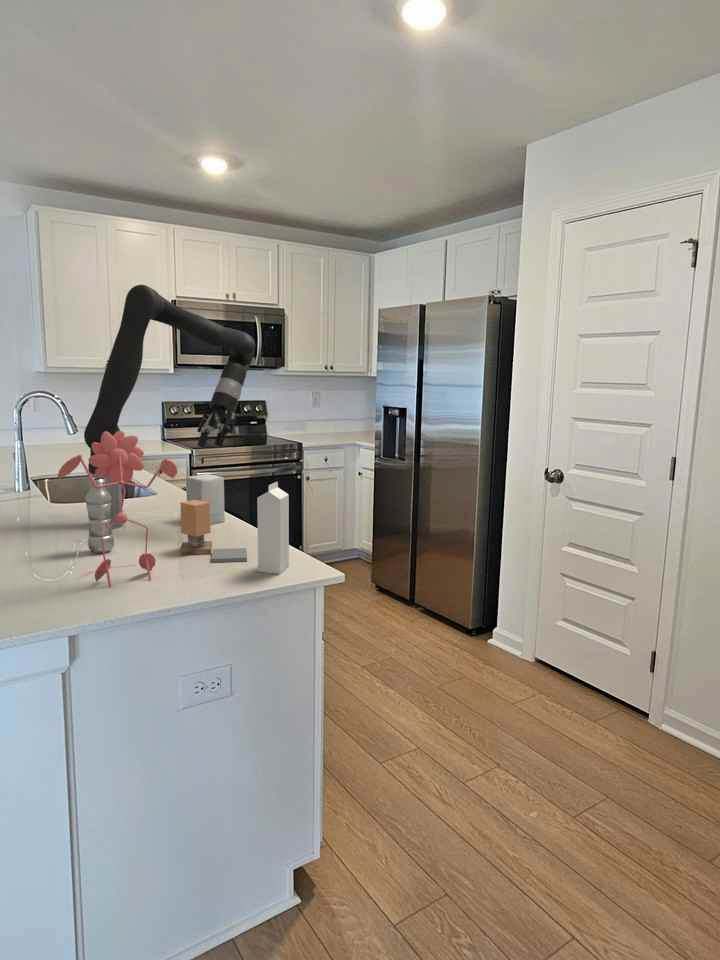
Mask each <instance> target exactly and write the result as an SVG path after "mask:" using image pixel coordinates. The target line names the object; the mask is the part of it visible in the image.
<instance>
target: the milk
mask: <svg viewBox="0 0 720 960" xmlns="http://www.w3.org/2000/svg"><path fill="white" fill-rule="evenodd" d="M289 497H290V496H289V493H287V492H286V491H284V490H282V489H281V488H280V487H279V482H278V481H275V482H273V483H271V484H269V485H268V491H267V492H266V493H263V494H261V495H260V496H258V497H257V499H256V500H257V501H256V503H257V504H256V505H257V511H256V512H257V572H258V573H267V574H277V575H278V574H279V575H280V574H282V573H283V572H285V571H286V570H287V569H288V568H289V566H290V563H289V562H290V561H289V560H290V557H289V556H290V550H289V549H290V541H289V539H290V538H289V537H290V535H289V534H290V530H289V529H290V527H289V524H290V523H289V522H290V521H289V517H290V515H289V513H290V511H289V510H290V509H289V508H290V506H289V505H290V501H289V500H290V499H289Z"/></svg>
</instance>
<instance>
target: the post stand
mask: <svg viewBox="0 0 720 960" xmlns="http://www.w3.org/2000/svg"><path fill="white" fill-rule="evenodd" d="M212 551H213V541H212V540H205V535H201V536H197V537H196V536H191V535H187V541H182V542H181V545H180V549H179V556H200V555H202V556H203V555H205V556H206V555H212Z"/></svg>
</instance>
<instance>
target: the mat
mask: <svg viewBox="0 0 720 960" xmlns="http://www.w3.org/2000/svg"><path fill="white" fill-rule="evenodd" d="M247 552H248V551H247V547H240V548H239V547H238V548H237V547H235V548H212V551H211V564H212V563H214V564H215V563H234V562H236V563H237V562H238V563H239V562H242V563H243V562H248V555H247V554H248V553H247Z"/></svg>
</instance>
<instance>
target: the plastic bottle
mask: <svg viewBox="0 0 720 960" xmlns="http://www.w3.org/2000/svg"><path fill="white" fill-rule="evenodd" d="M93 480H94V482H95V484H96V486H100V485H105V478H93ZM96 486H95V487H96ZM90 487H91V489H90ZM95 487H94V485H93V483H92V482H91V480H90V486H89V490H88V492H87V494H86V495H85V499H84V501H85V505H86V511H87V517H88V525H89V528H88V538H87V545H88V546H87V547H88V550H90V552H91V553H97V554H98V553H99V554H101V553H102V554H103V550H102V542H101V534H102V533H103V532H104V531H105V530H106V529H107V528H108V527H109V526H110V525H111V522H110V510H111V495H110V494H109V492H108V491H107V490H106V489H105V487H102V488H97V489H95ZM112 529H113V528H111V527H110V528H109V529H108V530H107V531H106V532H105V533H104V534H103V535H102V536H103V544H104V552H106V553H107V552H110V551H112V550H113V549H114V546H115V545H114V544H115V539H114V538H115V537H114V535H113V531H112Z"/></svg>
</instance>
